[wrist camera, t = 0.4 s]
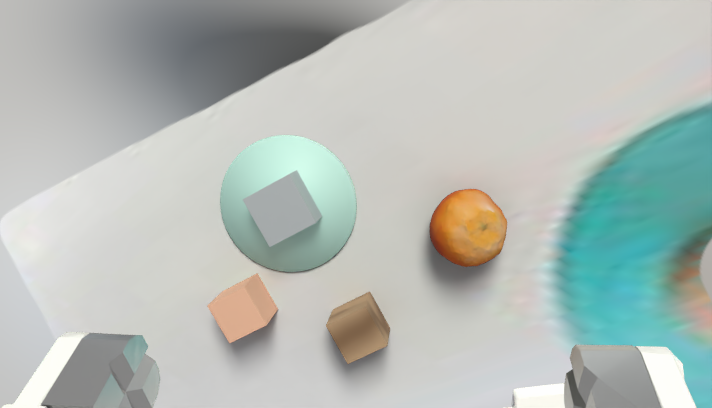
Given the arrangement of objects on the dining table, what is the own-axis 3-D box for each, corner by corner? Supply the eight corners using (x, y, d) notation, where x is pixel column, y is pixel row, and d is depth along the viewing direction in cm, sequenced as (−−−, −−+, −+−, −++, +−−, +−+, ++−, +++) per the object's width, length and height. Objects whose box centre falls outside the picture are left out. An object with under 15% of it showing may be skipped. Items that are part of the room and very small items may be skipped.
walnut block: (390, 327, 65) (387, 345, 60) (353, 344, 66) (347, 364, 61) (369, 291, 64) (365, 306, 59) (333, 309, 65) (325, 325, 60)
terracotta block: (278, 308, 66) (266, 325, 61) (243, 326, 67) (229, 343, 62) (257, 273, 66) (244, 286, 61) (222, 290, 66) (207, 305, 62)
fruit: (400, 215, 61) (436, 210, 53) (454, 182, 63) (495, 173, 56) (433, 278, 62) (473, 282, 54) (485, 243, 64) (529, 242, 57)
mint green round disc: (381, 233, 63) (378, 242, 59) (264, 293, 66) (254, 305, 62) (313, 109, 61) (306, 109, 57) (196, 176, 64) (181, 180, 60)
